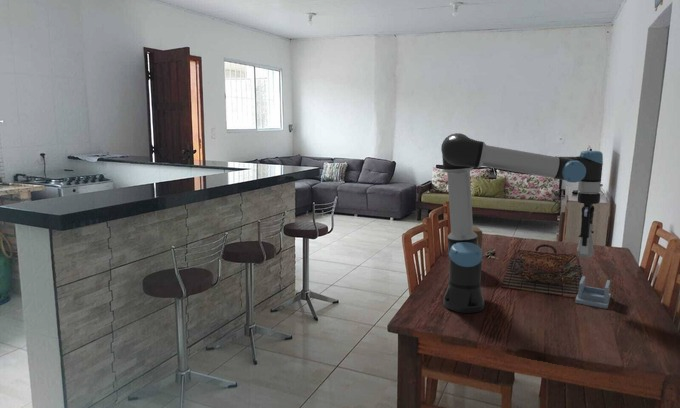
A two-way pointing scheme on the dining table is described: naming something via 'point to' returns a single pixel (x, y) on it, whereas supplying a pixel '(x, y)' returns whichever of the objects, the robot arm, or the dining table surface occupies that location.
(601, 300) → the blue bracket with posts
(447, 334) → the dining table surface
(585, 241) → the robot arm
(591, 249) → the salt shaker
